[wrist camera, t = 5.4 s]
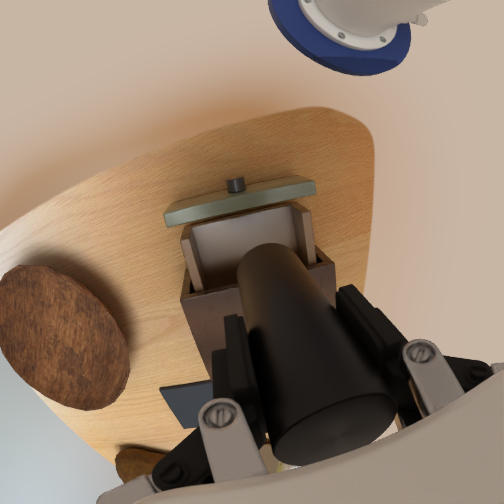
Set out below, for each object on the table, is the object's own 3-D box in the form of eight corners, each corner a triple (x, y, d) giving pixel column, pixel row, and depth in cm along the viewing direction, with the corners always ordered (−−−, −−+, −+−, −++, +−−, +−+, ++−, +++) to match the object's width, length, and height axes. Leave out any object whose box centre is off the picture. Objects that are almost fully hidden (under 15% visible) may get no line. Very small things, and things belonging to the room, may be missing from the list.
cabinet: (185, 269, 29) (179, 300, 23) (310, 239, 30) (334, 262, 24) (219, 368, 35) (222, 406, 28) (320, 343, 35) (338, 376, 29)
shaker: (296, 235, 16) (410, 372, 6) (303, 293, 17) (387, 441, 7) (230, 250, 16) (261, 422, 6) (244, 307, 17) (280, 476, 7)
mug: (290, 457, 46) (274, 493, 37) (258, 432, 48) (237, 467, 39) (318, 448, 43) (304, 487, 34) (285, 420, 44) (266, 460, 35)
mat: (228, 376, 35) (229, 379, 35) (244, 416, 39) (244, 419, 38) (159, 387, 35) (159, 390, 34) (184, 426, 38) (183, 429, 38)
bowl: (164, 302, 30) (158, 328, 26) (111, 404, 35) (105, 428, 30) (25, 219, 25) (1, 231, 20) (7, 342, 29) (-8, 361, 25)
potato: (175, 467, 43) (175, 502, 35) (118, 455, 41) (113, 489, 33) (180, 450, 41) (180, 489, 33) (117, 437, 38) (110, 475, 30)
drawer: (167, 190, 26) (158, 199, 21) (295, 163, 26) (312, 165, 22) (206, 321, 31) (206, 348, 26) (313, 295, 32) (329, 318, 27)
